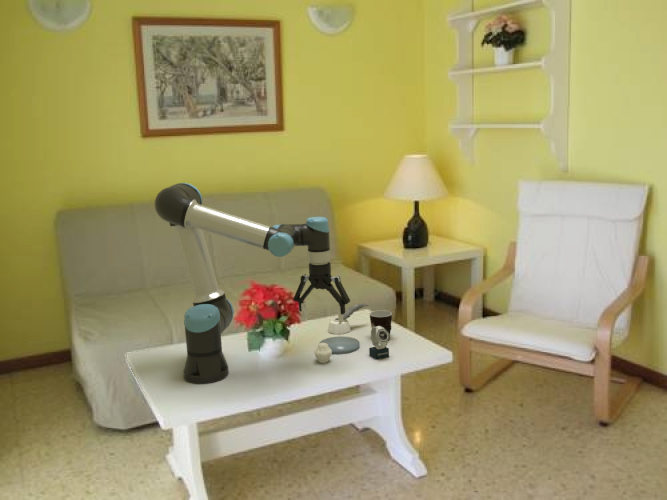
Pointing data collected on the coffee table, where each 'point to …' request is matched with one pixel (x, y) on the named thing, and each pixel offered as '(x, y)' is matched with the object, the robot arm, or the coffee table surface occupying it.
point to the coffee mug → (381, 319)
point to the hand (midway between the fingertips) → (322, 321)
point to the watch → (379, 337)
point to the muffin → (323, 353)
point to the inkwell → (344, 321)
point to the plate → (342, 344)
